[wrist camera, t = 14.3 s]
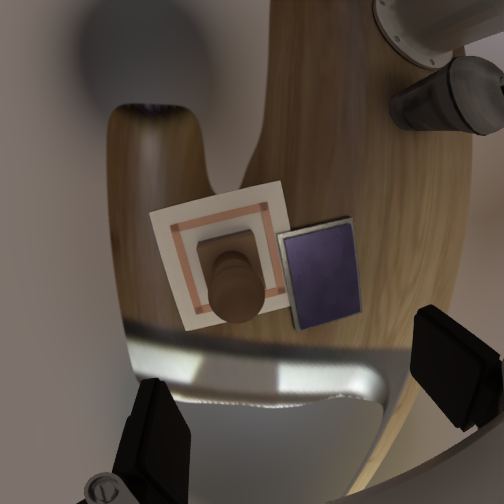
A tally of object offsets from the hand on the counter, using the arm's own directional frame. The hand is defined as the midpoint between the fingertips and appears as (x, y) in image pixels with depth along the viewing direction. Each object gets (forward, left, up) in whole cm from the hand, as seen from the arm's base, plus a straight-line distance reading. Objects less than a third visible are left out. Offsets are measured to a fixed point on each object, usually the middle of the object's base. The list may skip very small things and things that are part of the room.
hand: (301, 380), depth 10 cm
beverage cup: (-11, +21, -21) cm, 32 cm away
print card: (+1, -2, -21) cm, 21 cm away
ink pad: (+5, +7, -21) cm, 22 cm away
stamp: (+1, -2, -20) cm, 21 cm away
